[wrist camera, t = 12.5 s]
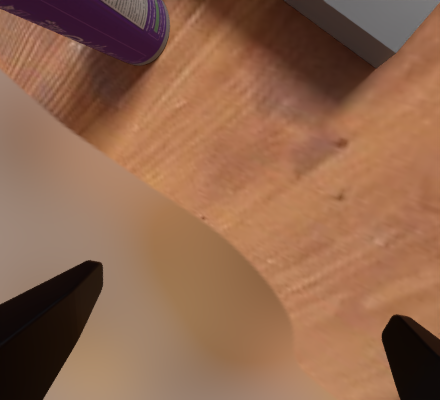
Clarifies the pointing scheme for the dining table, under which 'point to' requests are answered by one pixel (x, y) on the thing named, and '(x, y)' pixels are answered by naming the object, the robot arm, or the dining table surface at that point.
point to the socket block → (368, 23)
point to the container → (103, 24)
